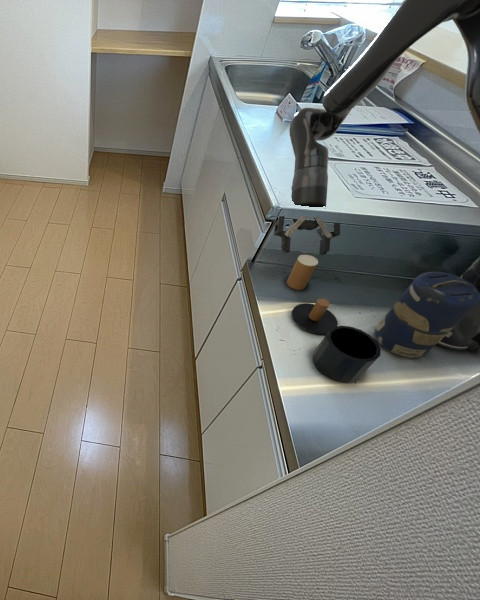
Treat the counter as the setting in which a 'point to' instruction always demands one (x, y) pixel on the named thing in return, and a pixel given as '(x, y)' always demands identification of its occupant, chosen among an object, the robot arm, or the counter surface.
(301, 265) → the cylinder
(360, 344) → the cup
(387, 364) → the counter surface
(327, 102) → the robot arm
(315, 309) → the lid
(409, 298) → the canister
